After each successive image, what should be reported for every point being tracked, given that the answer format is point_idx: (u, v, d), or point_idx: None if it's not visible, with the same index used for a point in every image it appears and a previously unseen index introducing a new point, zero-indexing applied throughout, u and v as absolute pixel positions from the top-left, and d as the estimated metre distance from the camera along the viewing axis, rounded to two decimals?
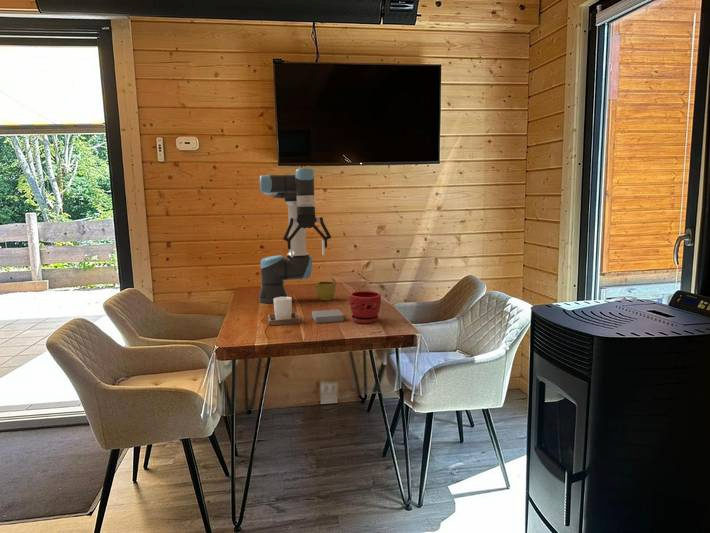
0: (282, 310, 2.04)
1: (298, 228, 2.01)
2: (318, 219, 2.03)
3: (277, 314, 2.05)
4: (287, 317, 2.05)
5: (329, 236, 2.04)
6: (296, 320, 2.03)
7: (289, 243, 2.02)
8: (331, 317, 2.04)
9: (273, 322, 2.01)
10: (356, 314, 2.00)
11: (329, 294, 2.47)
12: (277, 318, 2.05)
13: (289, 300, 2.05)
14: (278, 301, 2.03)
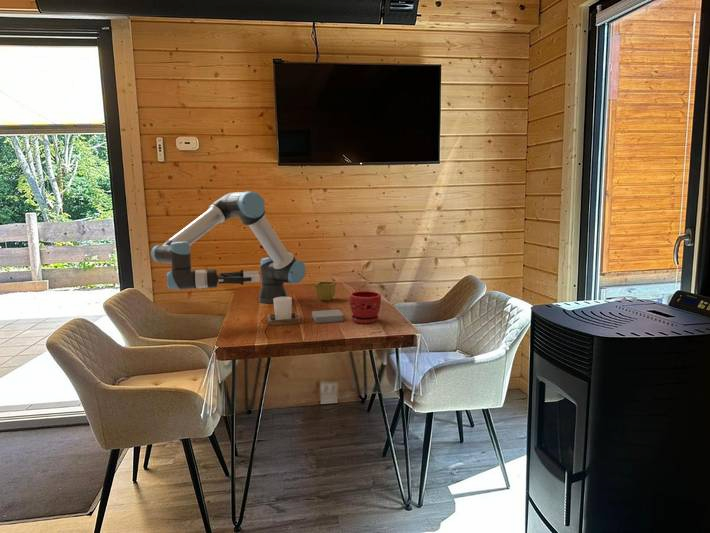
0: (282, 310, 2.04)
1: None
2: None
3: (277, 314, 2.05)
4: (287, 317, 2.05)
5: None
6: (296, 320, 2.03)
7: (245, 276, 2.10)
8: (331, 317, 2.04)
9: (273, 322, 2.01)
10: (356, 314, 2.00)
11: (329, 294, 2.47)
12: (277, 318, 2.05)
13: (289, 300, 2.05)
14: (278, 301, 2.03)
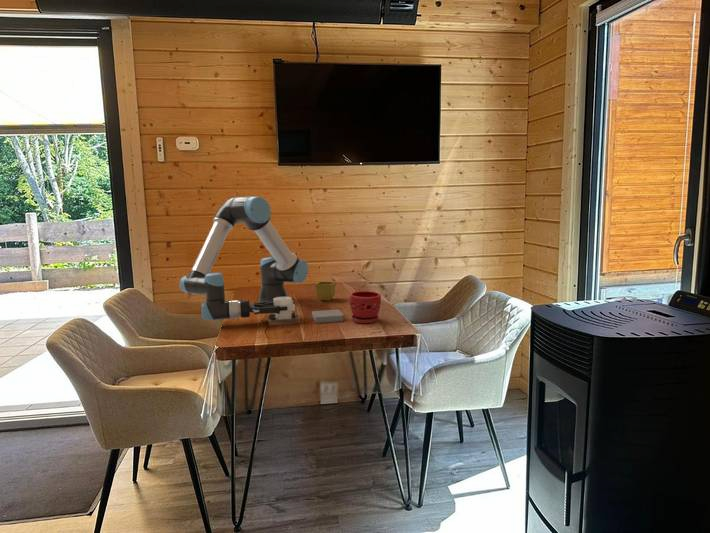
0: None
1: None
2: None
3: (277, 314, 2.05)
4: (287, 317, 2.05)
5: None
6: (296, 320, 2.03)
7: None
8: (331, 317, 2.04)
9: (273, 322, 2.01)
10: (356, 314, 2.00)
11: (329, 294, 2.47)
12: (277, 318, 2.05)
13: (289, 300, 2.05)
14: (278, 301, 2.03)
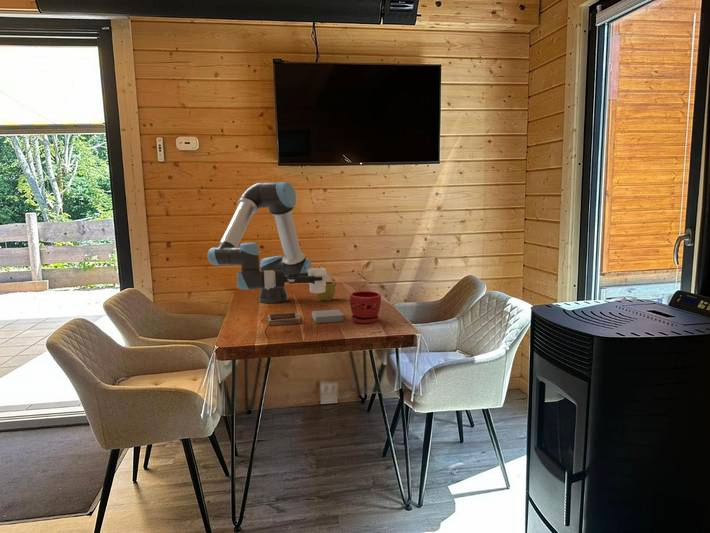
0: None
1: None
2: None
3: (311, 284, 2.04)
4: (321, 288, 2.04)
5: (311, 282, 1.99)
6: (296, 320, 2.03)
7: None
8: (331, 317, 2.04)
9: (273, 322, 2.01)
10: (356, 314, 2.00)
11: (329, 294, 2.47)
12: (311, 289, 2.04)
13: (323, 270, 2.04)
14: (313, 271, 2.02)
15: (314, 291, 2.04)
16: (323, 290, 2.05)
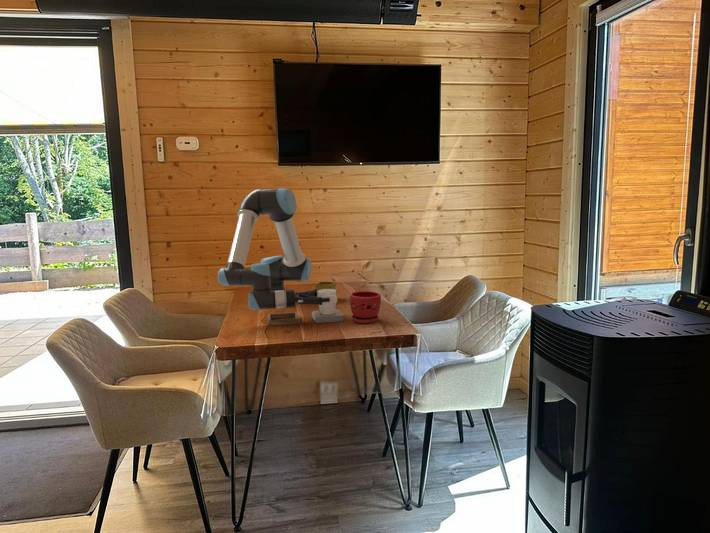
0: None
1: None
2: None
3: (322, 306, 2.07)
4: (331, 309, 2.07)
5: None
6: (296, 320, 2.03)
7: None
8: (331, 317, 2.04)
9: (273, 322, 2.01)
10: (356, 314, 2.00)
11: None
12: (322, 310, 2.07)
13: (333, 292, 2.06)
14: (323, 293, 2.05)
15: (324, 313, 2.07)
16: (333, 311, 2.08)
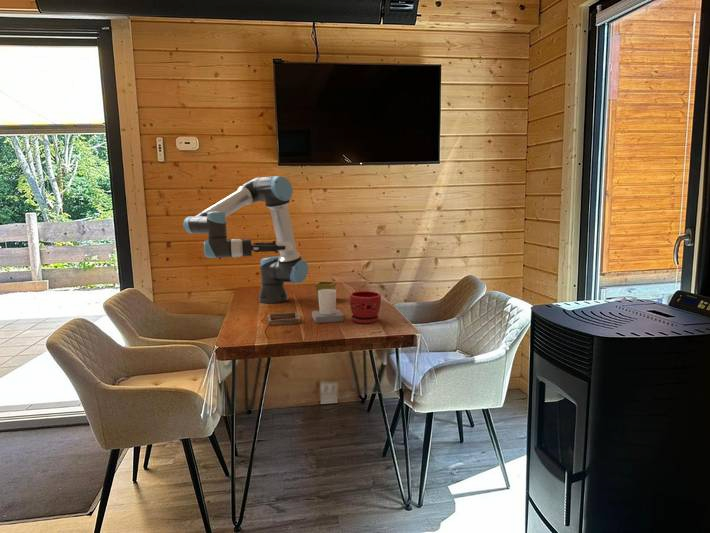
0: (326, 302, 2.05)
1: None
2: None
3: (322, 306, 2.07)
4: (331, 309, 2.07)
5: (274, 251, 1.99)
6: (296, 320, 2.03)
7: None
8: (331, 317, 2.04)
9: (273, 322, 2.01)
10: (356, 314, 2.00)
11: None
12: (322, 310, 2.07)
13: (334, 292, 2.06)
14: (323, 293, 2.05)
15: (324, 313, 2.07)
16: (333, 311, 2.08)
